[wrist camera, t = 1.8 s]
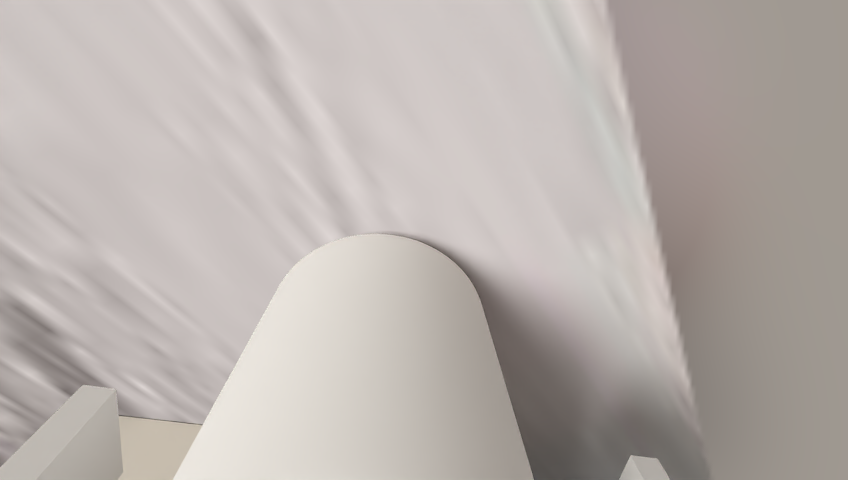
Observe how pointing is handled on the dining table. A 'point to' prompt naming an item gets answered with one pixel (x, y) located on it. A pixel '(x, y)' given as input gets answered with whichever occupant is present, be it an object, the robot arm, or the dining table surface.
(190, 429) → the white drawer cabinet
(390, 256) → the beverage can
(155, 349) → the dining table surface
